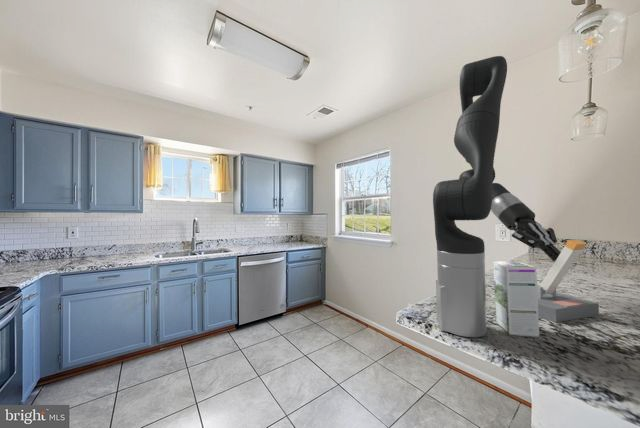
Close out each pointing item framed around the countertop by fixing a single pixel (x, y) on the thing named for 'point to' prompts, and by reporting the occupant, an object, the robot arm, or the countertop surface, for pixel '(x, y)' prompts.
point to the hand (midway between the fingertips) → (559, 259)
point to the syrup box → (516, 298)
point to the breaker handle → (562, 265)
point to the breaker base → (564, 307)
